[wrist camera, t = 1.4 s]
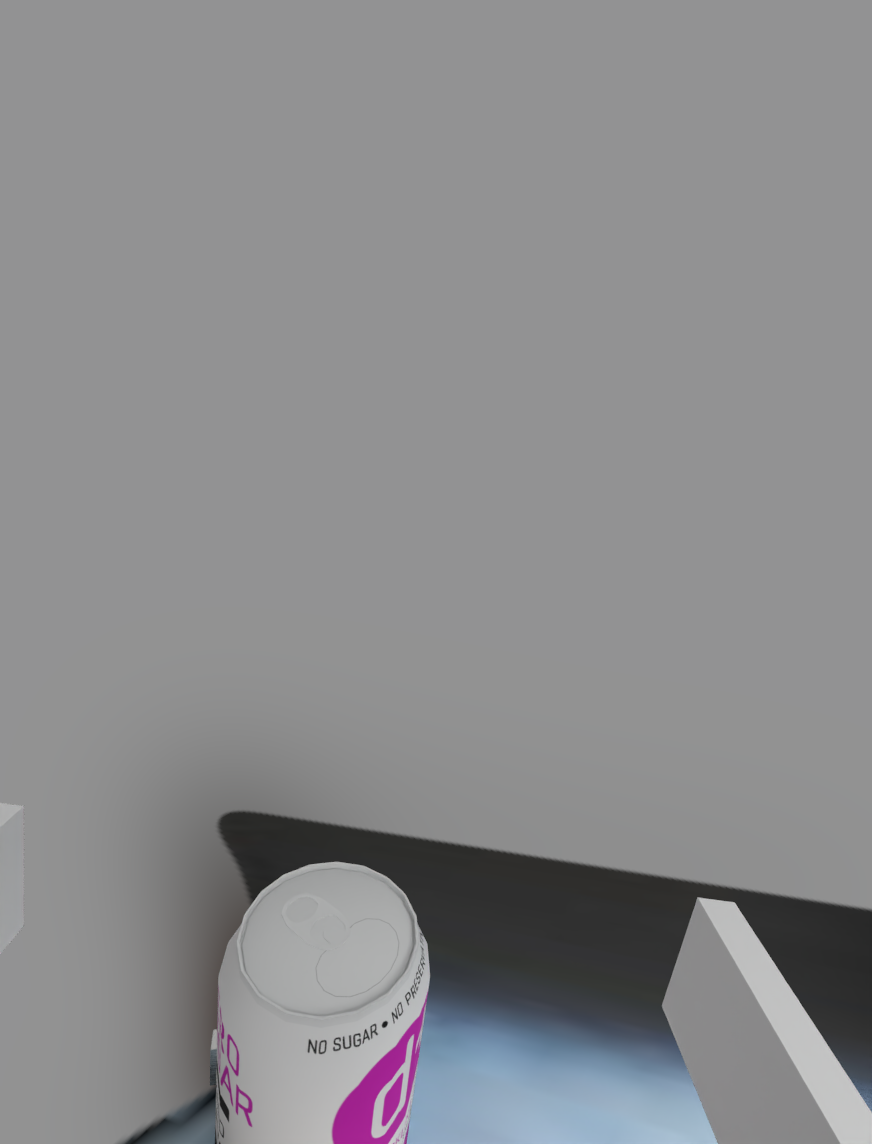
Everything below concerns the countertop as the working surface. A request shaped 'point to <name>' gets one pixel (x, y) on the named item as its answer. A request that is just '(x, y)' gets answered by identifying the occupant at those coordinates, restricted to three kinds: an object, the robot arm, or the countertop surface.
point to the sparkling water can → (321, 1012)
